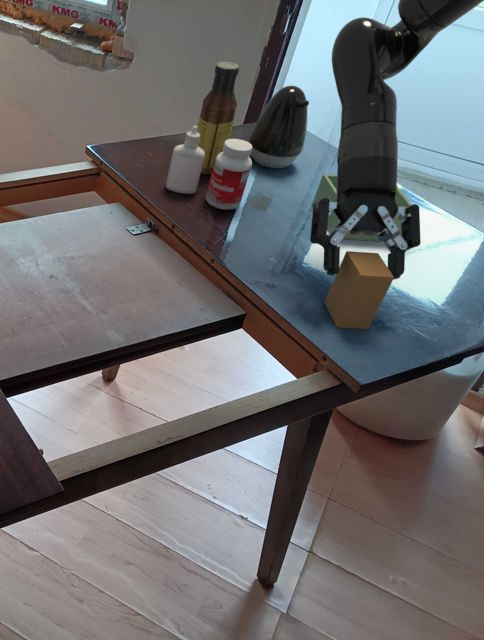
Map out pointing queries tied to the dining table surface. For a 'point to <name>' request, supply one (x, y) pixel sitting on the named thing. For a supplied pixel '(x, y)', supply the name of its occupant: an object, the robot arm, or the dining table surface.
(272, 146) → the black bird figurine
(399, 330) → the dining table surface
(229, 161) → the pill bottle
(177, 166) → the eye dropper bottle
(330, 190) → the open box
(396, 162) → the robot arm
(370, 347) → the dining table surface
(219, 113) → the sauce bottle
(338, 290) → the block
